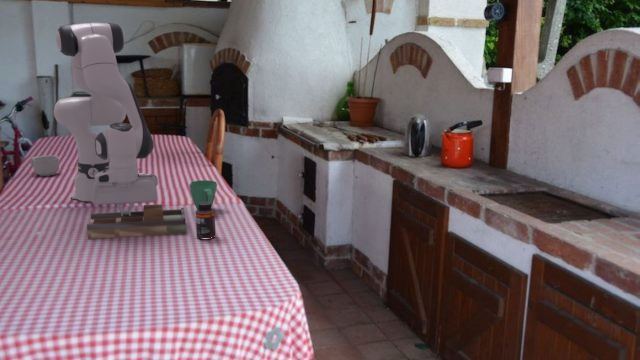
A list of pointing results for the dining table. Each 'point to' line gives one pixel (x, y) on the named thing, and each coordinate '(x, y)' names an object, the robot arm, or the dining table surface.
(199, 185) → the mug
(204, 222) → the supplement bottle
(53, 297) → the dining table surface
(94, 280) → the dining table surface
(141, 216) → the wooden compartment tray
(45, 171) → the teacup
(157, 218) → the block
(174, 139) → the dining table surface
